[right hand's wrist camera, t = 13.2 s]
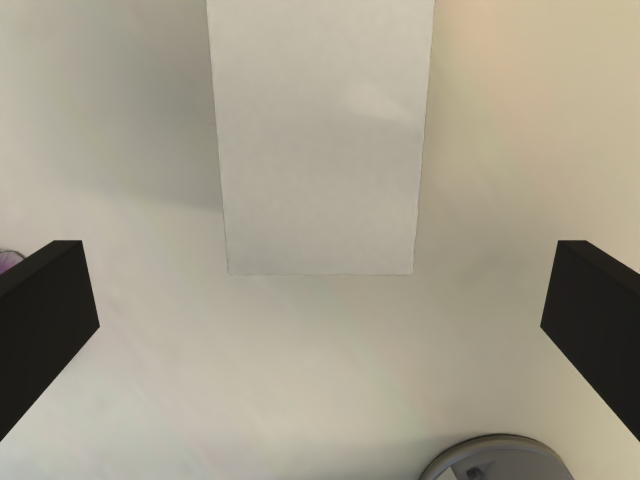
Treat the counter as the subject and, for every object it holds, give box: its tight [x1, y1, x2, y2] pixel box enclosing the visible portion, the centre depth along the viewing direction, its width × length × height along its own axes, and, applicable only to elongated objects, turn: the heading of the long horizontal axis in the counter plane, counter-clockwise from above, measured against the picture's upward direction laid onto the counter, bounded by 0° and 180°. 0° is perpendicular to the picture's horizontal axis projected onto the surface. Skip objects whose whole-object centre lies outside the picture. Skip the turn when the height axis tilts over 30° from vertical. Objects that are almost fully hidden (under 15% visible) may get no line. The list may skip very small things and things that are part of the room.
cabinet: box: [205, 0, 435, 275], centre depth 25 cm, size 18×10×10 cm, turn 0°
